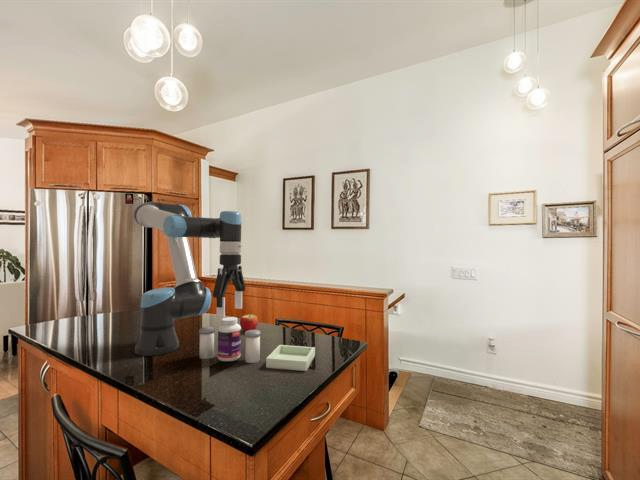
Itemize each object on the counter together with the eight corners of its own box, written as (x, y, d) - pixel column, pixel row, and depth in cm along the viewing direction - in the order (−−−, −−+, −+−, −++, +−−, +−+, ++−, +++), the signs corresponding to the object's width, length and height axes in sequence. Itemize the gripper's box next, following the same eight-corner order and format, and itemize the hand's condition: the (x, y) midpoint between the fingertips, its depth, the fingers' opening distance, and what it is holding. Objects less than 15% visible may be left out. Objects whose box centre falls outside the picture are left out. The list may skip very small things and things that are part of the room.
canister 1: (195, 358, 111) (196, 330, 111) (204, 353, 116) (204, 326, 116) (209, 359, 110) (209, 331, 110) (217, 354, 115) (217, 327, 115)
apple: (261, 330, 147) (261, 309, 147) (248, 335, 139) (248, 313, 139) (249, 328, 151) (249, 307, 151) (235, 332, 144) (236, 310, 144)
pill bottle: (234, 363, 107) (234, 322, 107) (213, 361, 108) (213, 320, 108) (244, 355, 115) (244, 316, 115) (224, 353, 116) (225, 315, 116)
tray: (266, 367, 104) (266, 358, 104) (279, 352, 117) (279, 344, 117) (306, 371, 101) (306, 361, 101) (315, 355, 115) (315, 347, 115)
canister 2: (242, 362, 108) (242, 333, 108) (248, 357, 113) (248, 329, 113) (256, 363, 107) (257, 334, 107) (262, 358, 112) (262, 330, 112)
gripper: (222, 255, 99) (222, 321, 99) (253, 252, 123) (253, 305, 123) (201, 254, 100) (201, 320, 100) (236, 252, 125) (236, 305, 124)
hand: (230, 312), depth 111 cm, fingers open, 13 cm apart
